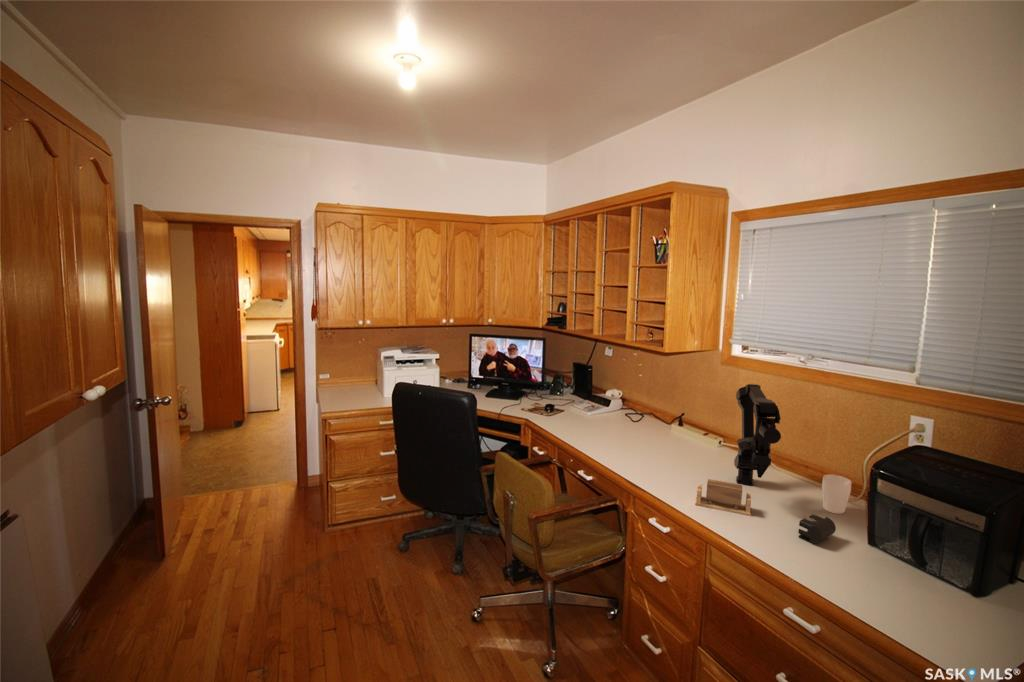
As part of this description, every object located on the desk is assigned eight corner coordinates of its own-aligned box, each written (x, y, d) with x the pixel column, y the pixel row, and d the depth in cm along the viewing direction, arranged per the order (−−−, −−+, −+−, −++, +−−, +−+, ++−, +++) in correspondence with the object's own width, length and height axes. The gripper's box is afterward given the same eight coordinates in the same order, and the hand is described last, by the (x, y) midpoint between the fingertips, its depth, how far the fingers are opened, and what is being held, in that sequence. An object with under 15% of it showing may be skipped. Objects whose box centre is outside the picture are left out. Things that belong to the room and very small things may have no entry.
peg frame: (696, 497, 191) (697, 483, 190) (750, 507, 183) (751, 493, 182) (695, 504, 184) (696, 490, 183) (750, 516, 176) (752, 501, 176)
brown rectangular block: (706, 493, 188) (707, 478, 187) (740, 499, 183) (742, 484, 182) (706, 498, 183) (707, 483, 182) (740, 505, 178) (742, 490, 177)
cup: (816, 509, 182) (819, 479, 180) (822, 501, 188) (826, 472, 186) (844, 518, 176) (848, 487, 174) (850, 509, 182) (854, 479, 180)
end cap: (819, 548, 157) (821, 529, 156) (797, 538, 163) (799, 519, 162) (834, 539, 162) (837, 520, 161) (812, 529, 168) (814, 511, 167)
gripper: (740, 423, 195) (737, 459, 198) (738, 438, 179) (735, 477, 181) (771, 427, 190) (768, 465, 193) (772, 443, 174) (768, 484, 176)
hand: (759, 472), depth 186 cm, fingers open, 9 cm apart
